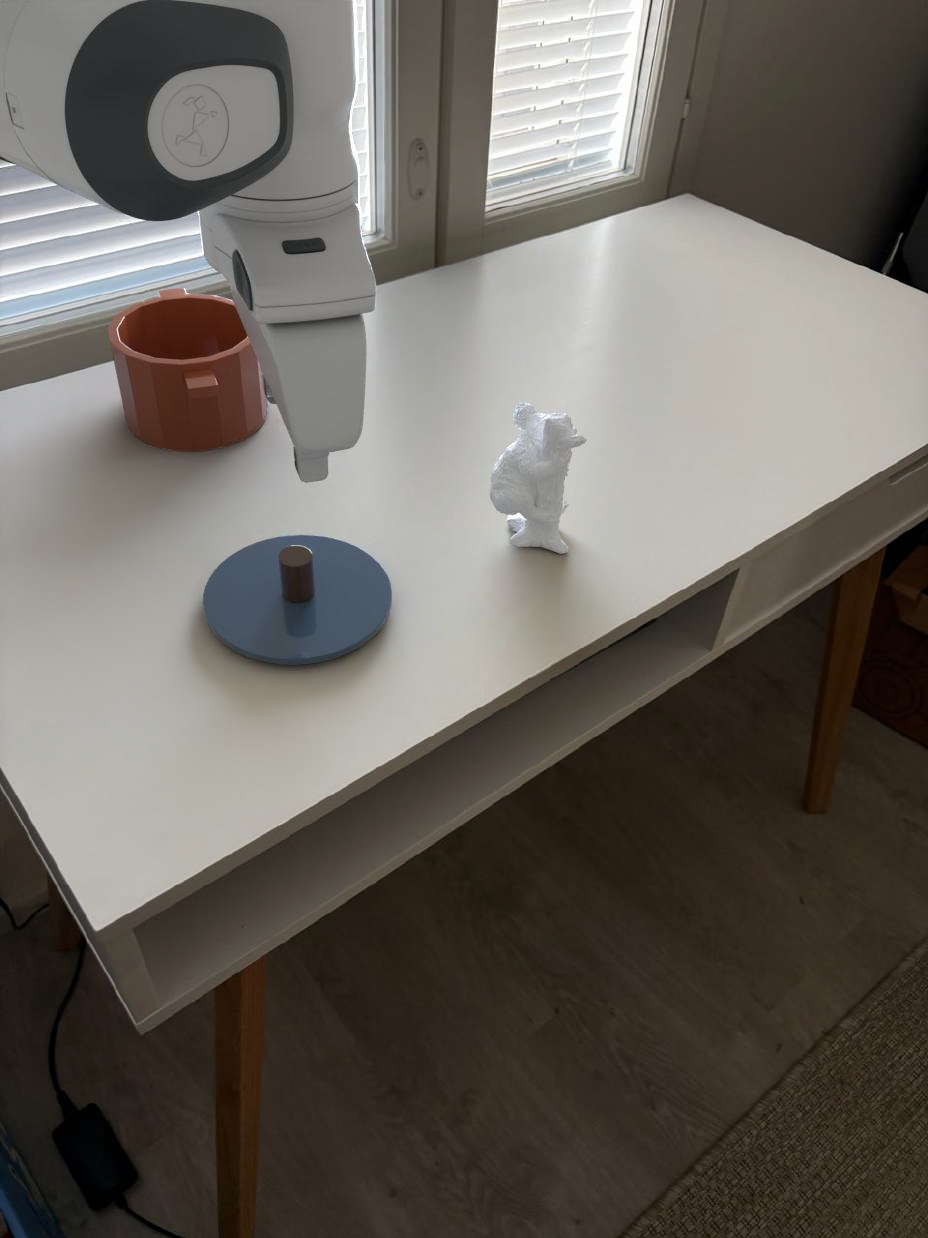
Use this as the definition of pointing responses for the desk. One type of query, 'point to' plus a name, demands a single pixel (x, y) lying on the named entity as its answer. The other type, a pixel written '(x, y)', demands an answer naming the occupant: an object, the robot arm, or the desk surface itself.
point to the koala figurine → (535, 477)
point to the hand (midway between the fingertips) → (294, 434)
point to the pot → (187, 372)
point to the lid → (297, 599)
